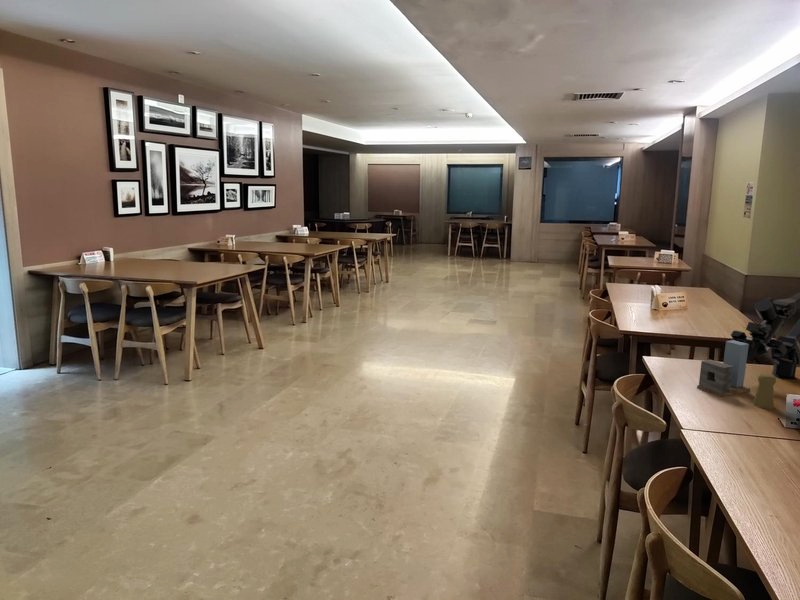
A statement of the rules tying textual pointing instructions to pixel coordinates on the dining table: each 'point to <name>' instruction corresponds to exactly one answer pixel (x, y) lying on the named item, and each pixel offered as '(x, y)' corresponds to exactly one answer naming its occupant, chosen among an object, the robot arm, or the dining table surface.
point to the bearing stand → (718, 379)
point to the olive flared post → (765, 391)
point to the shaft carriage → (736, 361)
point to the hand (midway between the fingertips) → (745, 359)
